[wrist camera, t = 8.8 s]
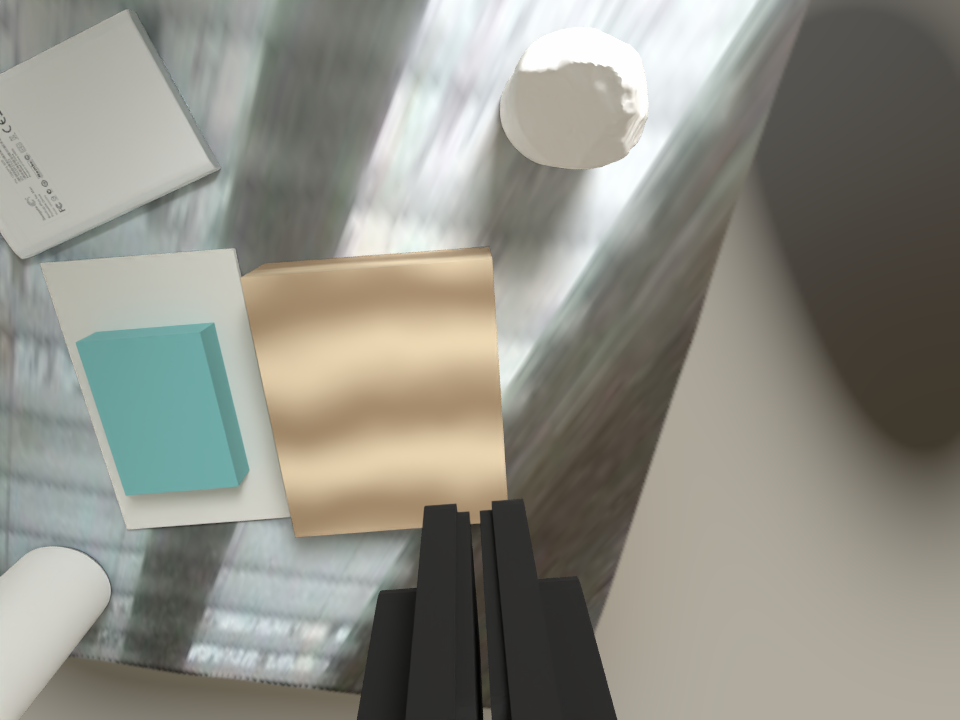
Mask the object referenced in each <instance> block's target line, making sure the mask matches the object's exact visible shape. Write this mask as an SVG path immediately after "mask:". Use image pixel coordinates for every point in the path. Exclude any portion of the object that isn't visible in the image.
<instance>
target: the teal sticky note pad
mask: <svg viewBox="0 0 960 720" xmlns="http://www.w3.org/2000/svg"><path fill="white" fill-rule="evenodd" d="M75 343H76V346H77V349H78V352H79V355H80V358H81V361H82V364H83V367H84V370H85V373H86V376H87V379H88V383H89V386H90V389H91V392H92V395H93V398H94V401H95V404H96V407H97V410H98V413H99V416H100V419H101V422H102V425H103V428H104V431H105V434H106V437H107V440H108V443H109V447H110V450H111V453H112V456H113V459H114V462H115V465H116V468H117V471H118V474H119V477H120V480H121V483H122V486H123V489H124V492H125V495H126V496H128V495H140V494H152V493H165V492H177V491H190V490H202V489H214V488H227V487H239V485H240V484H241V482H242V481H243V479H244V478H245V476H246V475H247V473H248V471H249V465H248V461H247V457H246V453H245V449H244V444H243V440H242V436H241V432H240V428H239V424H238V419H237V415H236V411H235V407H234V403H233V399H232V394H231V390H230V386H229V382H228V378H227V374H226V369H225V365H224V361H223V357H222V353H221V349H220V344H219V340H218V336H217V332H216V328H215V324H214V322H213V323H200V324H188V325H176V326H163V327H151V328H138V329H126V330H113V331H101V332H95V333H93V334H91V335H89V336H87V337H85V338H83V339H81V340H79V341H77V342H75Z"/></svg>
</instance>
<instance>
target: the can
mask: <svg viewBox="0 0 960 720" xmlns="http://www.w3.org/2000/svg"><path fill="white" fill-rule="evenodd" d="M110 596H111V587H110V583H109V579H108V576H107V574H106V572H105V570H104V569H103V568H102V566H101V565H100V564H99V563H98V562H97V561H96V560H95V559H93V558H92V557H91V556H89V555H87V554H86V553H84V552H81V551H79V550H76V549H73V548H69V547H61V546H51V547H42V548H37V549H34V550H32V551H30V552H28V553H27V554H26V555H24V556H23V557H22V558H21V559H20V560H19V561H17V562H16V563H15V564H14V565H13V566H12V567H11V568H10V569H9V570H8V571H6V572H5V573H4V574H3V575H2V576H1V577H0V720H19V719H20V718H21V717H22V715H23V714H24V713H25V712H26V710H27V709H28V708H29V706H30V705H31V704H32V703H33V701H34V700H35V699H36V698H37V696H38V695H39V694H40V692H41V691H42V690H43V689H44V687H45V686H46V685H47V683H48V682H49V681H50V679H51V678H52V677H53V676H54V674H55V673H56V672H57V670H58V669H59V668H60V666H61V665H62V664H63V663H64V661H65V660H66V659H67V658H68V656H69V655H70V654H71V652H72V651H73V650H74V649H75V647H76V646H77V645H78V643H79V642H80V641H81V639H82V638H83V637H84V636H85V634H86V633H87V632H88V630H89V629H90V628H91V626H92V625H93V624H94V622H95V621H96V620H97V619H98V617H99V616H100V615H101V613H102V612H103V610H104V609H105V608H106V606H107V604H108V603H109V600H110Z"/></svg>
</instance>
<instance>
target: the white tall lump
mask: <svg viewBox="0 0 960 720" xmlns="http://www.w3.org/2000/svg"><path fill="white" fill-rule="evenodd" d="M647 117H648V93H647V85H646V76H645V72H644V68H643V65H642V61H641V58H640V56H639V54H638V53H637V52H636V50H635V49H634V48H633V47H632V46H630V45H629V44H626V43H624V42H622V41H620V40H618V39H616V38H614V37H612V36H610V35H608V34H605V33H603V32H601V31H599V30H597V29H594V28H589V27H578V28H569V29H563V30H559V31H556V32H553V33H550V34H548V35H545V36H543V37H541V38H539V39H538V40H536V41H535V42H534V43H533V44H532V45H531V46H529V47H528V48H527V49H526V51H525V52H524V54H523V55H522V56H521V58H520V60H519V62H518V64H517V66H516V68H515V71H514V73H513V75H512V76H511V77H510V78H509V79H508V81H507V83H506V85H505V88H504V91H503V93H502V96H501V101H500V119H501V123H502V127H503V129H504V131H505V134H506V136H507V137H508V139H509V141H510V142H511V143H512V144H513V146H514V147H515V148H516V149H517V150H518V151H519V152H520V153H521V154H523V155H524V156H525V157H527V158H528V159H529V160H532V161H533V162H535V163H538V164H541V165H546V166H552V167H558V168H565V169H591V168H597V167H603V166H605V165H607V164H610V163H613V162H616V161H618V160H620V159H622V158H624V157H625V156H626V155H627V154H628V153H629V151H630V149H631V148H632V147H634V146H635V145H636V143H637V142H638V141H639V139H640V137H641V135H642V132H643V129H644V126H645V122H646V120H647Z"/></svg>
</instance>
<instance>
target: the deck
mask: <svg viewBox="0 0 960 720" xmlns="http://www.w3.org/2000/svg"><path fill="white" fill-rule="evenodd" d="M240 280H241V284H242V289H243V294H244V298H245V303H246V308H247V312H248V317H249V322H250V327H251V331H252V336H253V341H254V345H255V350H256V355H257V359H258V364H259V369H260V374H261V378H262V383H263V388H264V392H265V397H266V402H267V406H268V411H269V416H270V421H271V425H272V430H273V435H274V439H275V444H276V449H277V453H278V458H279V463H280V467H281V472H282V477H283V482H284V486H285V491H286V496H287V500H288V505H289V510H290V514H291V519H292V524H293V529H294V533H295V537H307V536H320V535H333V534H346V533H359V532H372V531H385V530H399V529H412V528H422V525H423V513H424V507H425V506H428V505H442V504H457V512H467V511H469V512H470V524H477V523H480V511H481V510H492V501H499V500H507V485H506V470H505V454H504V438H503V422H502V406H501V390H500V375H499V359H498V343H497V327H496V311H495V295H494V280H493V264H492V256H491V253H490V249H489V247H477V248H464V249H451V250H437V251H424V252H411V253H397V254H384V255H371V256H357V257H344V258H331V259H318V260H304V261H291V262H278V263H265V264H263V265H261V266H260V267H258V268H256V269H254V270H253V271H251V272H249V273H248V274H246V275H244V276H243V277H241V278H240Z"/></svg>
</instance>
